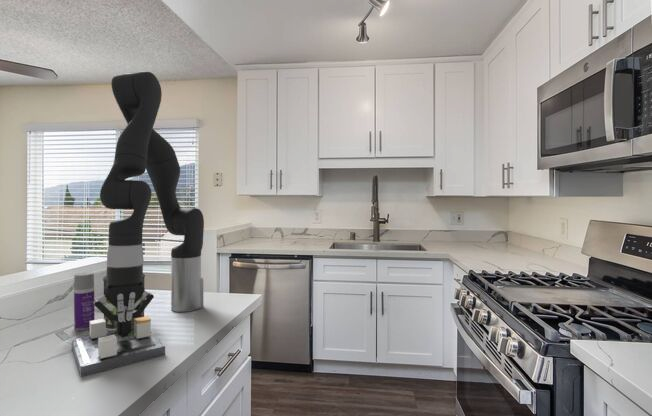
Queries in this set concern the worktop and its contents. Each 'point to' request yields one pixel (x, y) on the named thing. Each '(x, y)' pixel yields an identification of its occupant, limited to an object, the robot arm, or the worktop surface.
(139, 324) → the block
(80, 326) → the container
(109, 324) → the coffee can
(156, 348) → the breaker panel
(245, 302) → the worktop surface
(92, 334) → the block
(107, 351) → the breaker near
